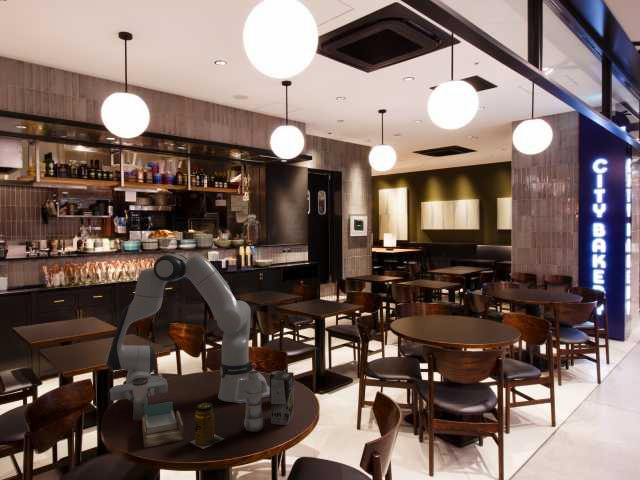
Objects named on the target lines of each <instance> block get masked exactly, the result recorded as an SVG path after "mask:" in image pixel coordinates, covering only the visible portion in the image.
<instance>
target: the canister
mask: <svg viewBox="0 0 640 480" xmlns="http://www.w3.org/2000/svg"><path fill="white" fill-rule="evenodd" d="M147 383H148V378H144V377H143V378H136V379H134V380H133V400H132V420H134V421H142V417H144V418H145V406H146V405H149V403H148V399H149V398H148V384H147Z"/></svg>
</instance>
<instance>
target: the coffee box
mask: <svg viewBox="0 0 640 480" xmlns="http://www.w3.org/2000/svg"><path fill="white" fill-rule="evenodd" d="M294 375H295V374H294V372H292V371H291V372H289V371H288V372H287V371H285V372H277V373H276V375H275V376H274V377H273V378H272V379H271V401H270V424H273V425H281V426H287V425H288V424H289V423H290V421H291V420H292V418H293V417H294V414H295V413H294V411H295V410H294V408H295V407H294V405H295V403H294V402H295V400H294V399H295V397H294V394H295V393H294V391H295V390H294V385H295V384H294V383H295V382H294Z"/></svg>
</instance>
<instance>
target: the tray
mask: <svg viewBox="0 0 640 480" xmlns="http://www.w3.org/2000/svg"><path fill="white" fill-rule="evenodd" d="M173 404H174V402H173V401H166V402H160V403H154V404H153V403H151V404H148V405H146V406H145V425H146V432H147V434H150V433H155V432H160V431H166V430H171V429H177V418H176V416H175V415H176V414H175V412H174V408H173V407H174V405H173Z"/></svg>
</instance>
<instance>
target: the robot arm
mask: <svg viewBox="0 0 640 480" xmlns="http://www.w3.org/2000/svg"><path fill="white" fill-rule="evenodd" d="M184 278H186V279H188V280H189V281H190V282H191V283H192V284H193V286H194V287H195V288H196V290H197V291H198V292H199V294H200V295H201V296H202V298H203V299H204V300H205V301H206V304H207V305H208V307H209V309H210V310H211V313H212V315H213V316H214V319H215V320H216V324H217V326H218V328H219V330H221V331H222V332H223V334H222V340H221V362H220V367H219V369H220V371H219V372H220V377H221V378H220V385H219V391H218V395H217V398H218V399H219V400H220V401H223V402H228V403H235V404H244V403H245V404H246V400H245V393H244V386H245V384H246V382H247V381H248V380H249V379H248V372H250V371H256V368H257V364H256V363H255V362H253V361H252V360H250V358H249V351H250V348H249V344H250V343H249V342H250V333H251V331H250V330H251V329H250V328H251V314H252V313H251V312H252V311H251V307H250V305H249V304H248V302H246V301H244V300H237V299H236V298H235V296H234V294H233V293H232V290H231V287H230V285H229V284H228V282H227V281H226V280H225V279H224V278H223V276H222V275H221V273H220V272H219V271H218V270H217V268H216V267H215V266H214V265H213V264H212V263H211V261H209V260H208V259H207V257H205V256H203V254H202V255H201V254H196V255H192V256H190V257H189V258H187V257H186V256H184V255H182V254H175V253H173V254H172V253H170V254H165V255H161V256H159V257H158V258H157V259H156V260H155V261H154V264H153V267H149V268H145V269H143V270H142V271H140V273H139V276H138V278H137V281H136V287H135V290H134V297H133V299H132V301H131V303H130V304H129V305H127V306H125V307H124V308H123V310H122V312H121V315H120V318H119V321H118V324H117V327H116V330H115V332H114V336H113V337H112V342H111V345H110V346H109V349H108V351H107V353H106V355H105V365H106V367H107V368H109V369H110V370H111V371H112V372H113V371H114V372H115V371H116V372H117V371H122V370H123V371H124V370H126V371H128V372H127V374H126V379H125V380H126V381H125V382H126V383H123V384H117V385H114V386H112V387H111V388H110V389H109V395H110V397H109V398H110V401H113V402H114V401H115V402H116V401H121V400H128V401H133V380H134V379H136V378H143V377H144V378H148V383H147V384H148V399H149V398H152V397H153V396H154V395H160V394H166V393H168V391H169V390H168V389H169V388H168V387H169V385H168V381H167V380H166V379H165V377H163V375H162V373H152V372H154V370H155V368H156V367H155V366H156V351H155V350H154V348H153V347H152V345H133V344H132V345H130V344H129V345H127V344H126V345H125V344H124V341H125V338H126V334H127V333H128V332H127V331H128V328H129V326H130V325H131V324H132V323H135V322H136V321H139V320H143V319H146V318H149V317H151V316H153V315H155V314H156V313H158V312H159V310H160V309H161V308H162V304H163V299H164V291H165V287H166V285H167V283H169V282H176V281H180V280H182V279H184ZM258 379H259V381H260V382H261V384H262V386H263V392H262V399H263V398H264V399H265V398H267V397H270V385H268V383H267V380H266V377H264V375H262V374H261V373H260V372H259V378H258Z"/></svg>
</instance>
